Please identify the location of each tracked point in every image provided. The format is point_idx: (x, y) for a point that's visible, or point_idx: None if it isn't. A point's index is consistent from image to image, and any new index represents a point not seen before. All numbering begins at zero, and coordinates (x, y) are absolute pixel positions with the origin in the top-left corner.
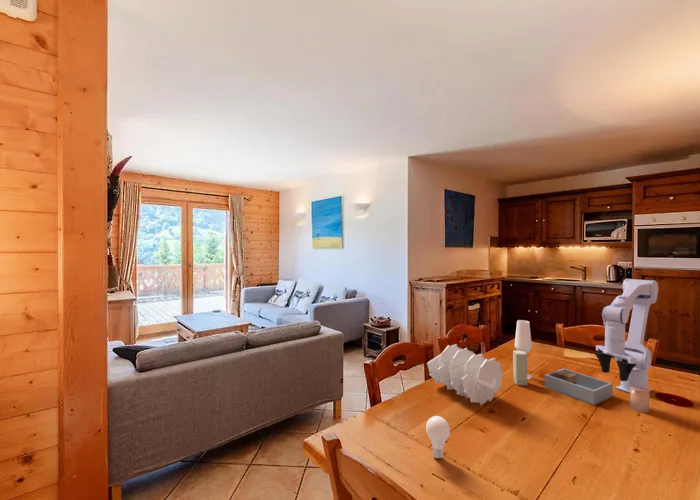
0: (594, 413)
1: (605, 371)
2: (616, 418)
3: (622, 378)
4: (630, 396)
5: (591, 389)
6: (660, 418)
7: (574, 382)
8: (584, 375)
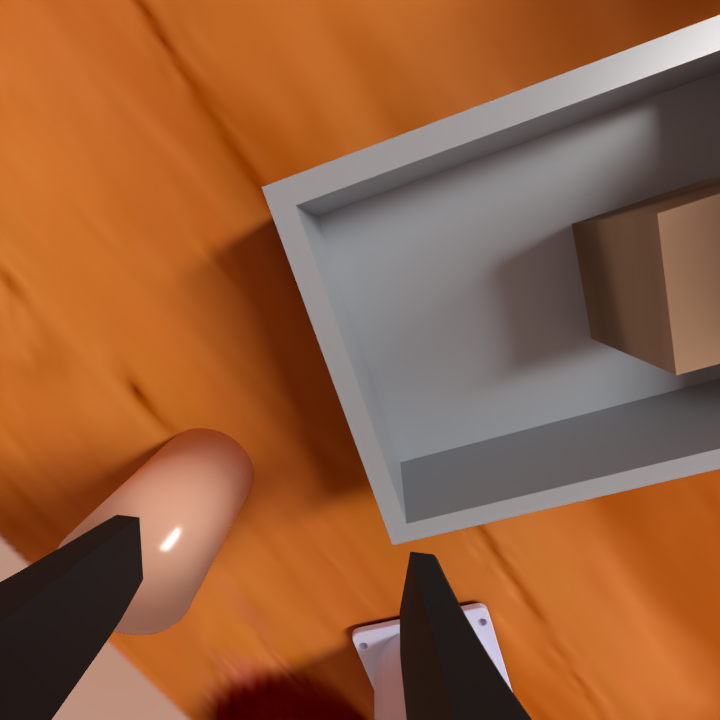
0: (173, 76)
1: (407, 585)
2: (93, 191)
3: (81, 541)
4: (199, 485)
5: (510, 420)
6: (94, 476)
7: (615, 320)
8: (636, 470)
